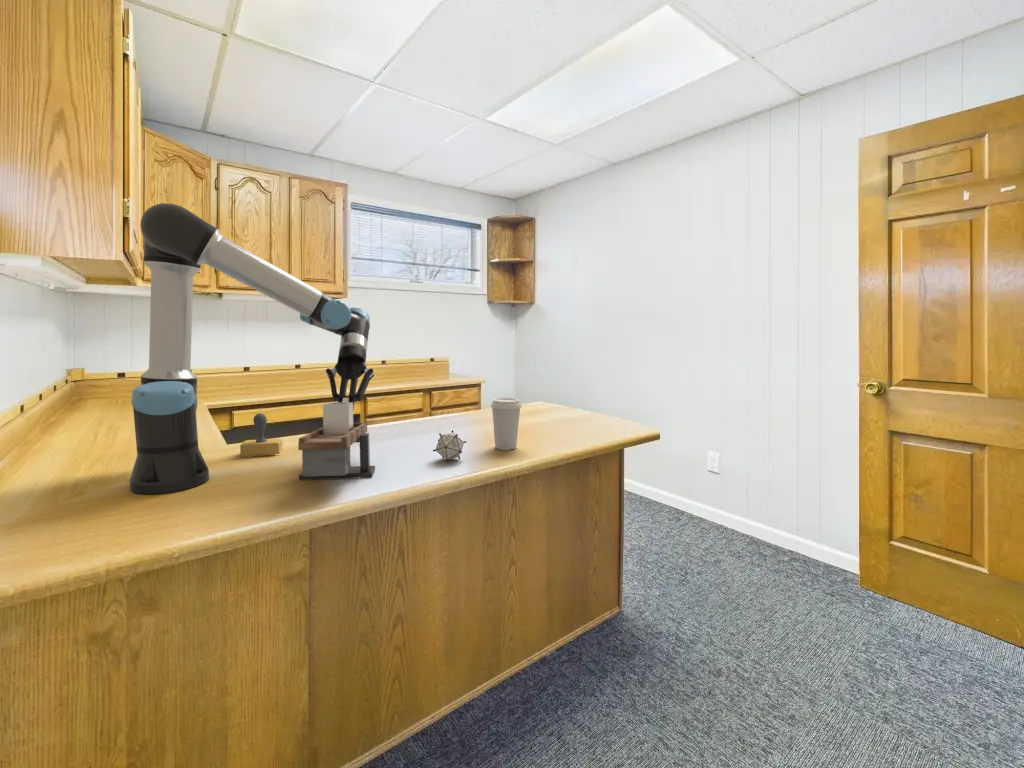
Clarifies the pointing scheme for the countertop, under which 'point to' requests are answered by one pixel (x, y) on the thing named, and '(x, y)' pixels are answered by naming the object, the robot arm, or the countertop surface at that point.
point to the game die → (449, 446)
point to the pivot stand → (355, 471)
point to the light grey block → (337, 418)
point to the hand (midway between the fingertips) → (343, 421)
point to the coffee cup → (506, 422)
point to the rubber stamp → (260, 441)
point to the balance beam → (328, 451)
